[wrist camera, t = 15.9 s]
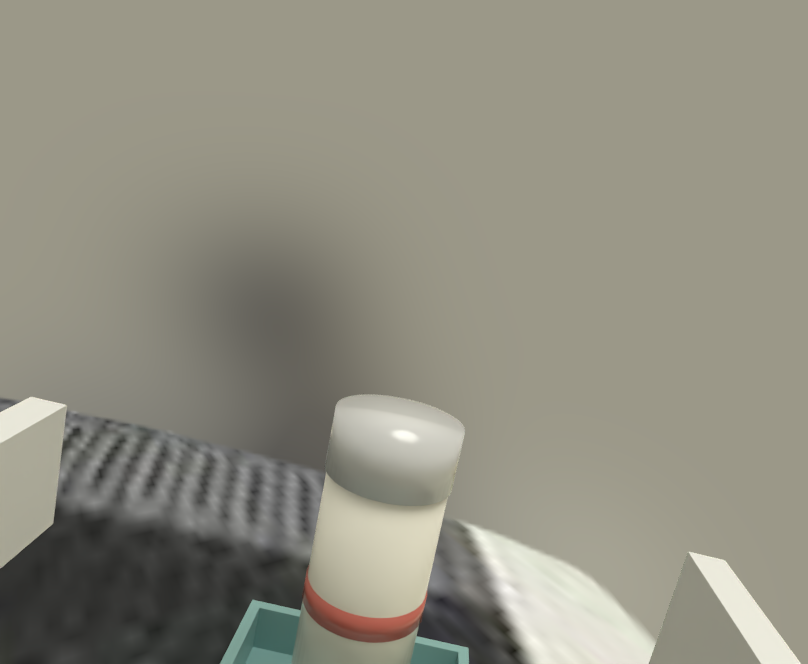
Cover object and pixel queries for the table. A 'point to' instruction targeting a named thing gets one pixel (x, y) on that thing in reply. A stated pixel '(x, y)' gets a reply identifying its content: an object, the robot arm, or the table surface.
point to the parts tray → (276, 633)
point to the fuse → (376, 530)
